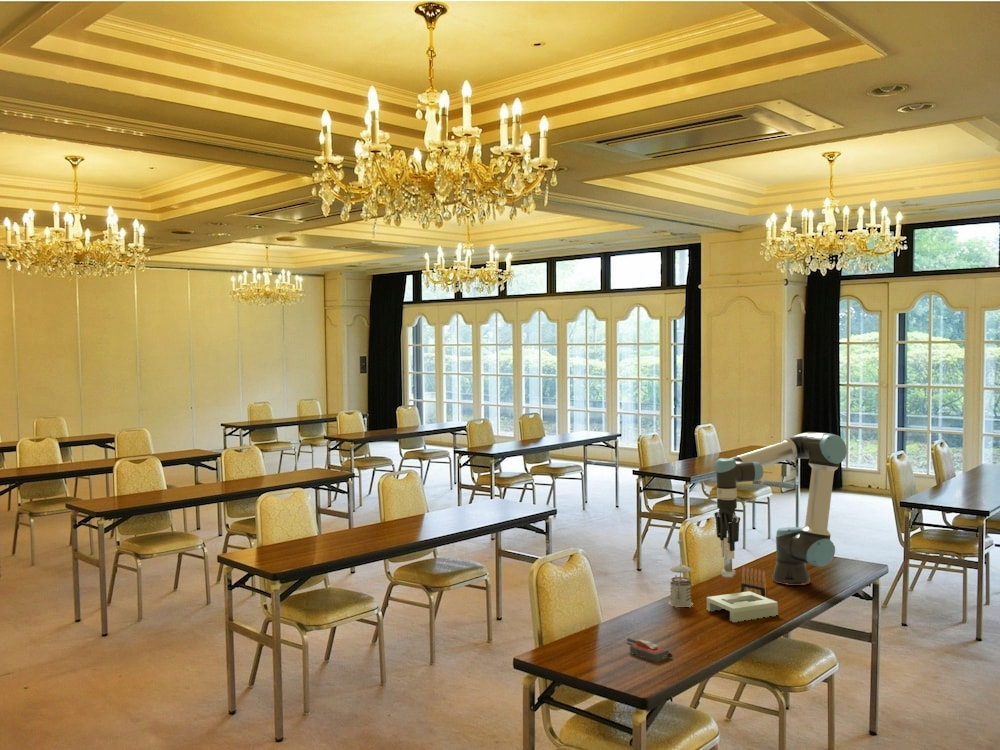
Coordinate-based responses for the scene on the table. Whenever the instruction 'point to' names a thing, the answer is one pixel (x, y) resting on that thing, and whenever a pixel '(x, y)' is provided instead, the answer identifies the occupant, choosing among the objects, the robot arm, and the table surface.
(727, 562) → the steel peg
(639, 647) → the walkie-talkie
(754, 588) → the ammunition clip
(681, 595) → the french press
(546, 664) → the table surface
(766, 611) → the keyhole board
